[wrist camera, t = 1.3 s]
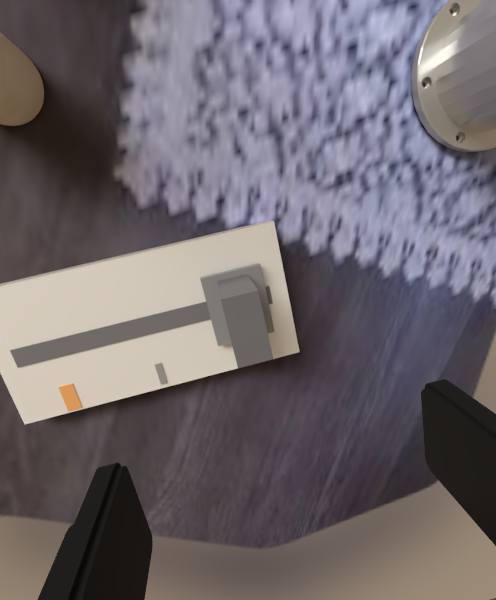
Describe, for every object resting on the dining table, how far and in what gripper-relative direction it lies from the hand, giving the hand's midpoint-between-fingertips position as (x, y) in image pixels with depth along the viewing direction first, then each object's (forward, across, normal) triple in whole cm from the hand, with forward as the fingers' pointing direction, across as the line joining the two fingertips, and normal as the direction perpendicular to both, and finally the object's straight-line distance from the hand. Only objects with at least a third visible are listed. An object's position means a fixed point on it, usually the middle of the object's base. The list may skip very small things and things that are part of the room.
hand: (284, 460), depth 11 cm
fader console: (+22, +8, +1) cm, 24 cm away
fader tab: (+20, 0, 0) cm, 20 cm away
